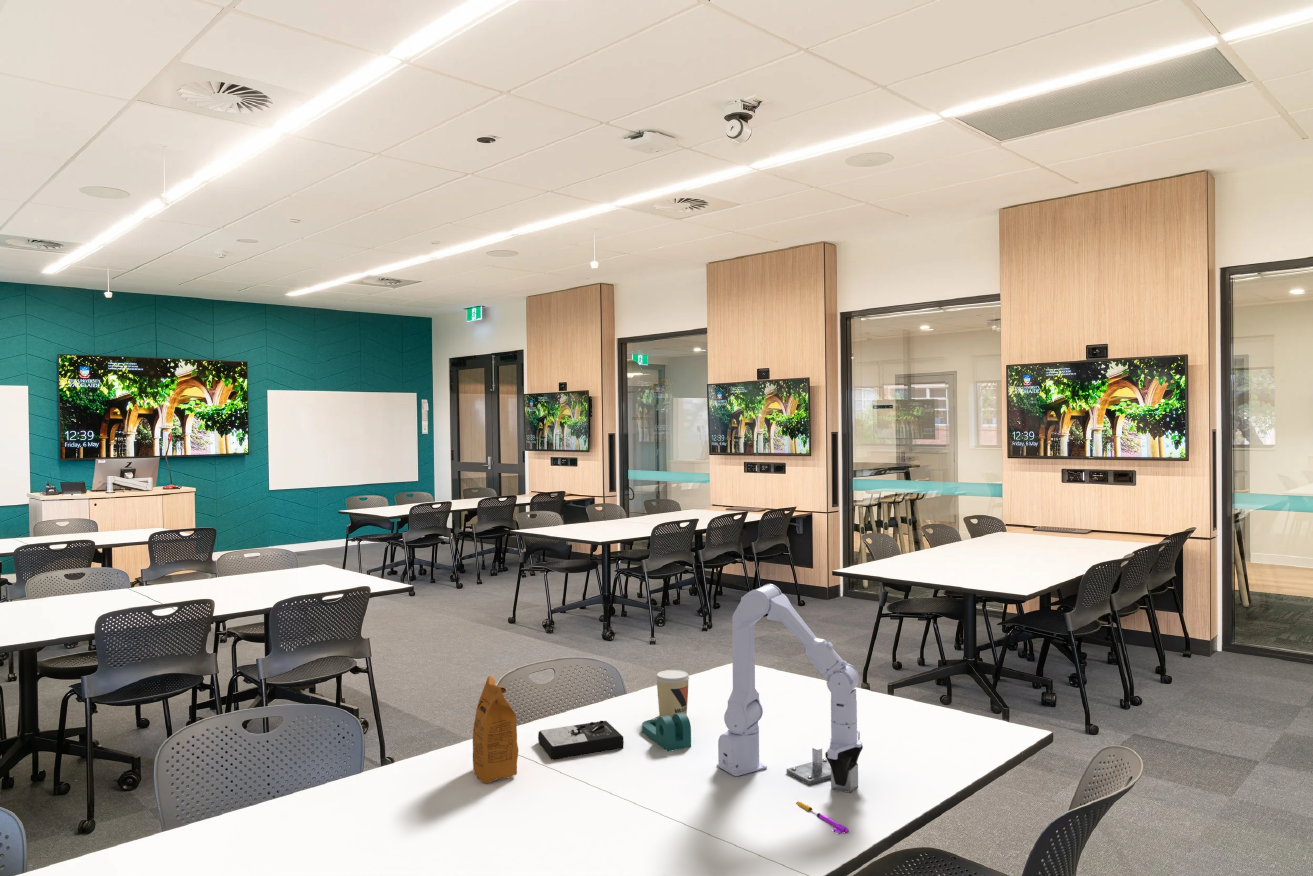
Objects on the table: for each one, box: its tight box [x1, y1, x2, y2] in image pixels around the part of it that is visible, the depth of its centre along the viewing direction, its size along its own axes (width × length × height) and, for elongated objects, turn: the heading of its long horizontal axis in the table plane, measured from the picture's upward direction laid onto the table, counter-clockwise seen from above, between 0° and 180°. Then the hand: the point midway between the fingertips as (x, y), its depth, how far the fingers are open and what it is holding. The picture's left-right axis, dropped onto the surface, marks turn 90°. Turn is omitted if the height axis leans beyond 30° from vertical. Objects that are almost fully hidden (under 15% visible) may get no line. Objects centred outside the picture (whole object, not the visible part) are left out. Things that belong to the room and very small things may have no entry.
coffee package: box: [472, 675, 519, 784], centre depth 199 cm, size 10×12×22 cm
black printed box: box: [537, 720, 625, 761], centre depth 217 cm, size 13×19×5 cm
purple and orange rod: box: [795, 801, 850, 834], centre depth 174 cm, size 3×1×16 cm
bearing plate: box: [786, 745, 831, 786], centre depth 197 cm, size 12×8×6 cm, turn 121°
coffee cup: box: [655, 669, 690, 718], centre depth 238 cm, size 9×9×12 cm
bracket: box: [641, 713, 692, 752], centre depth 221 cm, size 18×7×8 cm, turn 26°
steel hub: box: [830, 762, 859, 794], centre depth 189 cm, size 5×5×5 cm
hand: (844, 780), depth 189 cm, fingers closed on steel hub, 5 cm apart
